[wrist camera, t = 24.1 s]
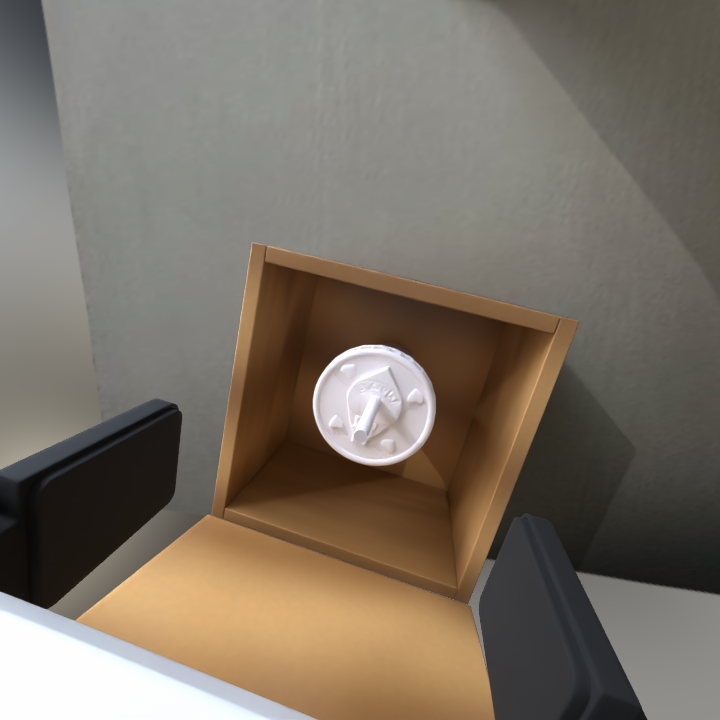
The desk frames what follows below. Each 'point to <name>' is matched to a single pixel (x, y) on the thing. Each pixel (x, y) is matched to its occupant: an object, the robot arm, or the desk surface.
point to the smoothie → (375, 404)
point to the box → (408, 477)
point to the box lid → (301, 628)
